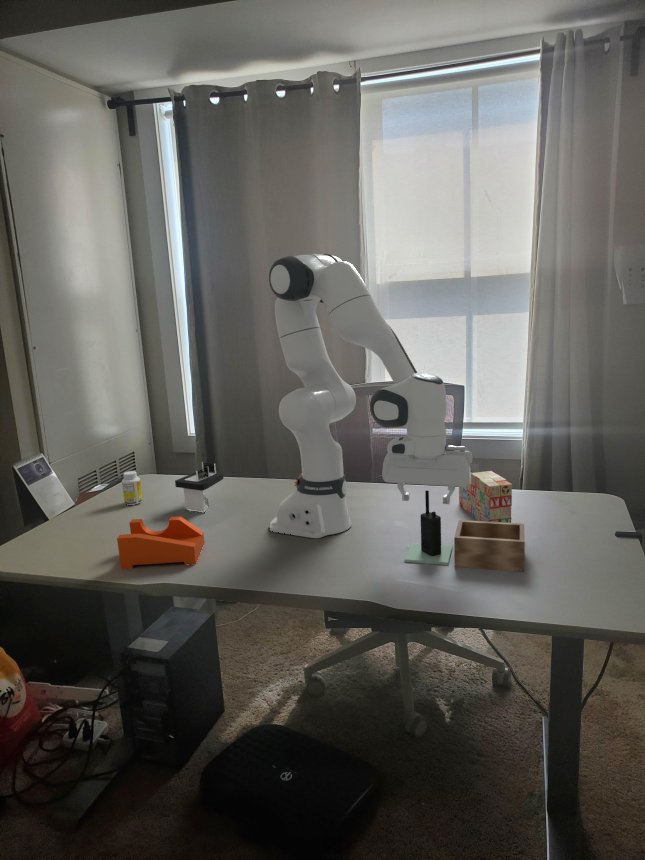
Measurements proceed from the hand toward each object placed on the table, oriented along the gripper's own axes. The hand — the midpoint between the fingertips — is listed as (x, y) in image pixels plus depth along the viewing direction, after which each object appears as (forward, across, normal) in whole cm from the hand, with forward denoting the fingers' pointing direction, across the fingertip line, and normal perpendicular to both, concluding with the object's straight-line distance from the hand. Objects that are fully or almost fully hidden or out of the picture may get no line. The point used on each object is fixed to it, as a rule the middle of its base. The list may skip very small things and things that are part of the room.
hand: (425, 501), depth 144 cm
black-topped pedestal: (+16, +71, -23) cm, 76 cm away
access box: (+13, -15, 0) cm, 20 cm away
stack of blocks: (+14, -12, -28) cm, 33 cm away
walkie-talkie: (+13, -1, 0) cm, 13 cm away
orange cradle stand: (+15, +63, +13) cm, 66 cm away
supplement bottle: (+16, +96, -23) cm, 100 cm away
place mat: (+13, -1, 0) cm, 13 cm away
